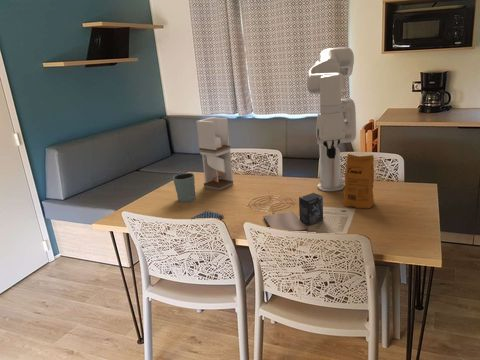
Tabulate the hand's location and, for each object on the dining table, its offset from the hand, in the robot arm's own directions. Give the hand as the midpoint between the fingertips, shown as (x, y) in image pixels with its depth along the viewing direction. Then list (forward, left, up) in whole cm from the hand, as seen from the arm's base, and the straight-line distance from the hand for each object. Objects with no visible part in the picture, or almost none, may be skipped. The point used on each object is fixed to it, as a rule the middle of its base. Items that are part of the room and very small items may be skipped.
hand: (331, 157), depth 154 cm
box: (+9, 0, -25) cm, 27 cm away
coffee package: (-16, -9, -25) cm, 31 cm away
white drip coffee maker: (+37, -61, -25) cm, 76 cm away
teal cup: (+55, -47, -25) cm, 77 cm away
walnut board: (+20, 0, -25) cm, 32 cm away
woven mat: (+48, -18, -26) cm, 57 cm away
